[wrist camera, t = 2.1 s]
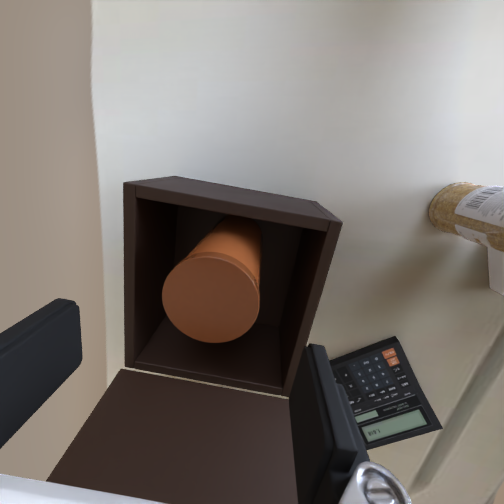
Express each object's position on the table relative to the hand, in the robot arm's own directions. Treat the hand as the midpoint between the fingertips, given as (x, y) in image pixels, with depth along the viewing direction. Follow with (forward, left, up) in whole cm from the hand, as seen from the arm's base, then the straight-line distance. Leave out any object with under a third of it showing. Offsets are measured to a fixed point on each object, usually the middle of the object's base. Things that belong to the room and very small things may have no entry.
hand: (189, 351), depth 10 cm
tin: (0, 0, -15) cm, 15 cm away
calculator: (+15, +19, -16) cm, 29 cm away
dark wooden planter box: (+2, 0, -16) cm, 16 cm away
